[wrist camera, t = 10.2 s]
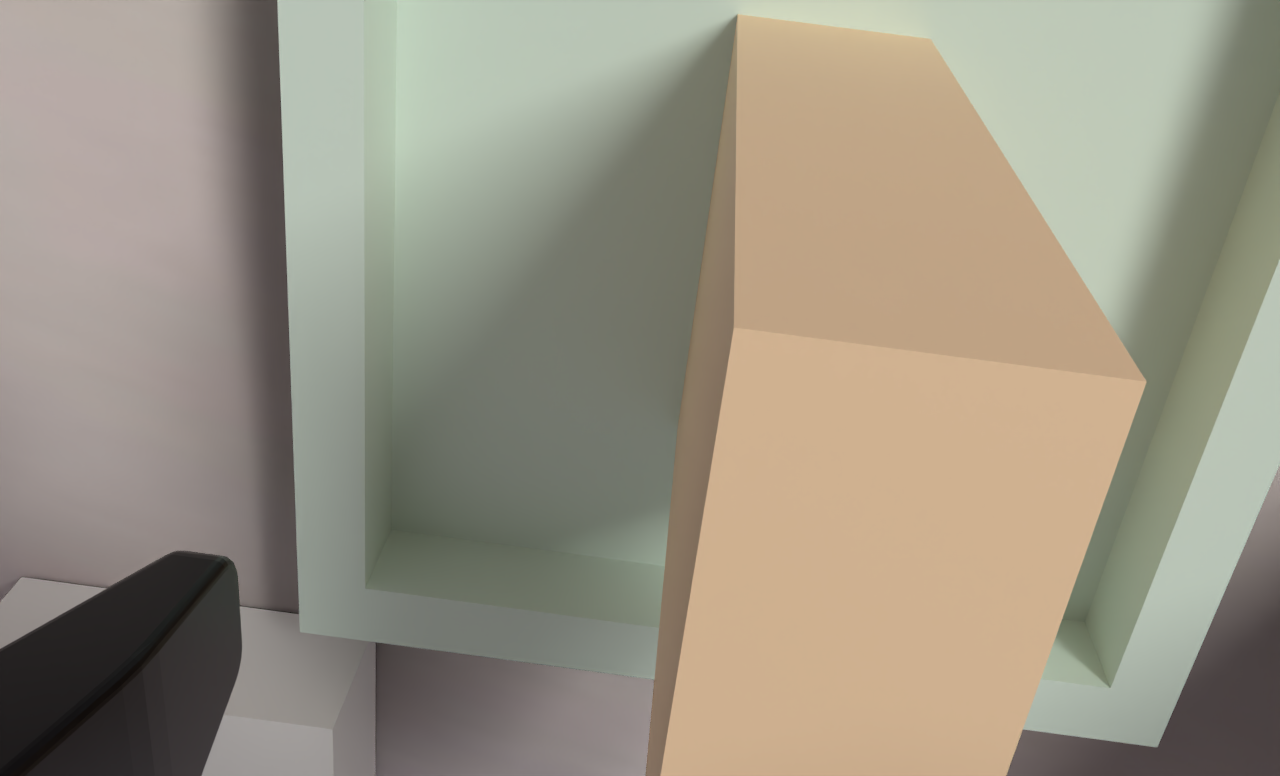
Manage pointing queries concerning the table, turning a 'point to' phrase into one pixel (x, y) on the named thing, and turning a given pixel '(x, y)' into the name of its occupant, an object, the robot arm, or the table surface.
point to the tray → (667, 290)
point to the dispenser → (260, 689)
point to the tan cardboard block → (874, 428)
